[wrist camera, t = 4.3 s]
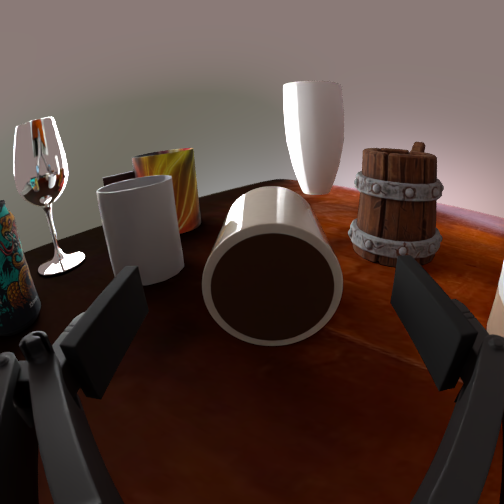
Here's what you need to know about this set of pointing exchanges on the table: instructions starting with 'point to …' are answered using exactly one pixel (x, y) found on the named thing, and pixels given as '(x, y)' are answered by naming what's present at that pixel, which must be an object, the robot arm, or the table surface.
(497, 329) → the bowl
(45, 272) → the wineglass
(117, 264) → the cup
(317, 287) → the tumbler
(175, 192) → the mug
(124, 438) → the table surface
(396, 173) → the mug
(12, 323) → the beverage can
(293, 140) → the cup
